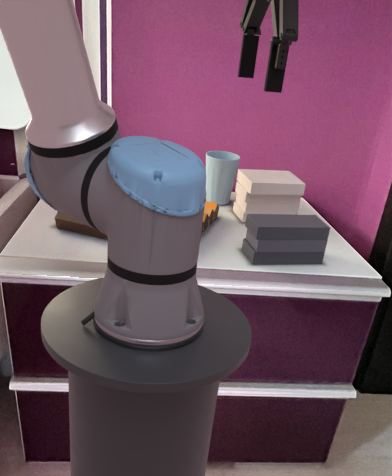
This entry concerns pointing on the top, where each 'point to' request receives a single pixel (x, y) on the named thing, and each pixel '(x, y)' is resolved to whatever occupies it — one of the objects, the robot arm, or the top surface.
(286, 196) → the white books
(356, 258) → the top surface
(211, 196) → the cup
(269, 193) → the white book
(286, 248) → the grey books
